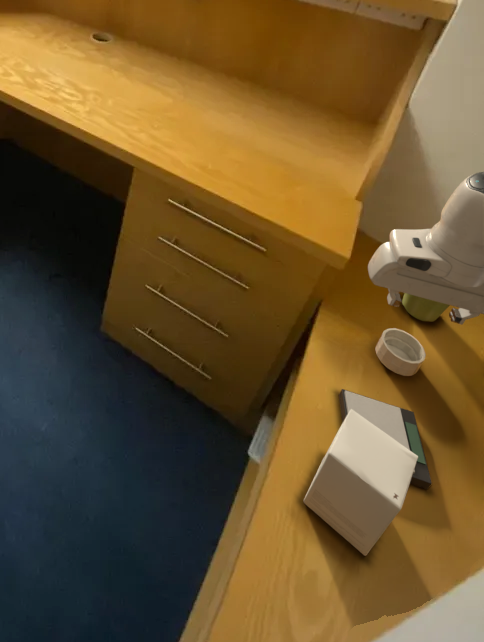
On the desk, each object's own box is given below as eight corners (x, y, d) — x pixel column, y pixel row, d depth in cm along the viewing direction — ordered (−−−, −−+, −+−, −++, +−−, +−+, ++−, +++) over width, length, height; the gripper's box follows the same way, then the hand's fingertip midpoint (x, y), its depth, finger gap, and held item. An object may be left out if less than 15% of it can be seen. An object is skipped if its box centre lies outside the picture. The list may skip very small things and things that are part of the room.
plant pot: (385, 307, 106) (400, 280, 102) (400, 282, 112) (414, 254, 107) (438, 339, 100) (456, 311, 96) (451, 310, 105) (468, 282, 101)
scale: (409, 418, 88) (415, 409, 86) (427, 489, 79) (433, 482, 77) (338, 394, 91) (342, 386, 90) (347, 461, 82) (352, 453, 81)
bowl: (411, 349, 98) (419, 335, 96) (420, 382, 93) (430, 368, 91) (371, 337, 100) (379, 323, 98) (378, 369, 95) (386, 355, 93)
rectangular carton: (385, 505, 77) (422, 456, 70) (365, 558, 72) (403, 512, 64) (323, 455, 83) (351, 405, 75) (300, 501, 78) (328, 452, 70)
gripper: (526, 261, 81) (487, 315, 88) (381, 226, 88) (355, 279, 95) (544, 293, 76) (502, 347, 83) (389, 254, 83) (361, 308, 89)
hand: (423, 311), depth 89 cm, fingers open, 8 cm apart
